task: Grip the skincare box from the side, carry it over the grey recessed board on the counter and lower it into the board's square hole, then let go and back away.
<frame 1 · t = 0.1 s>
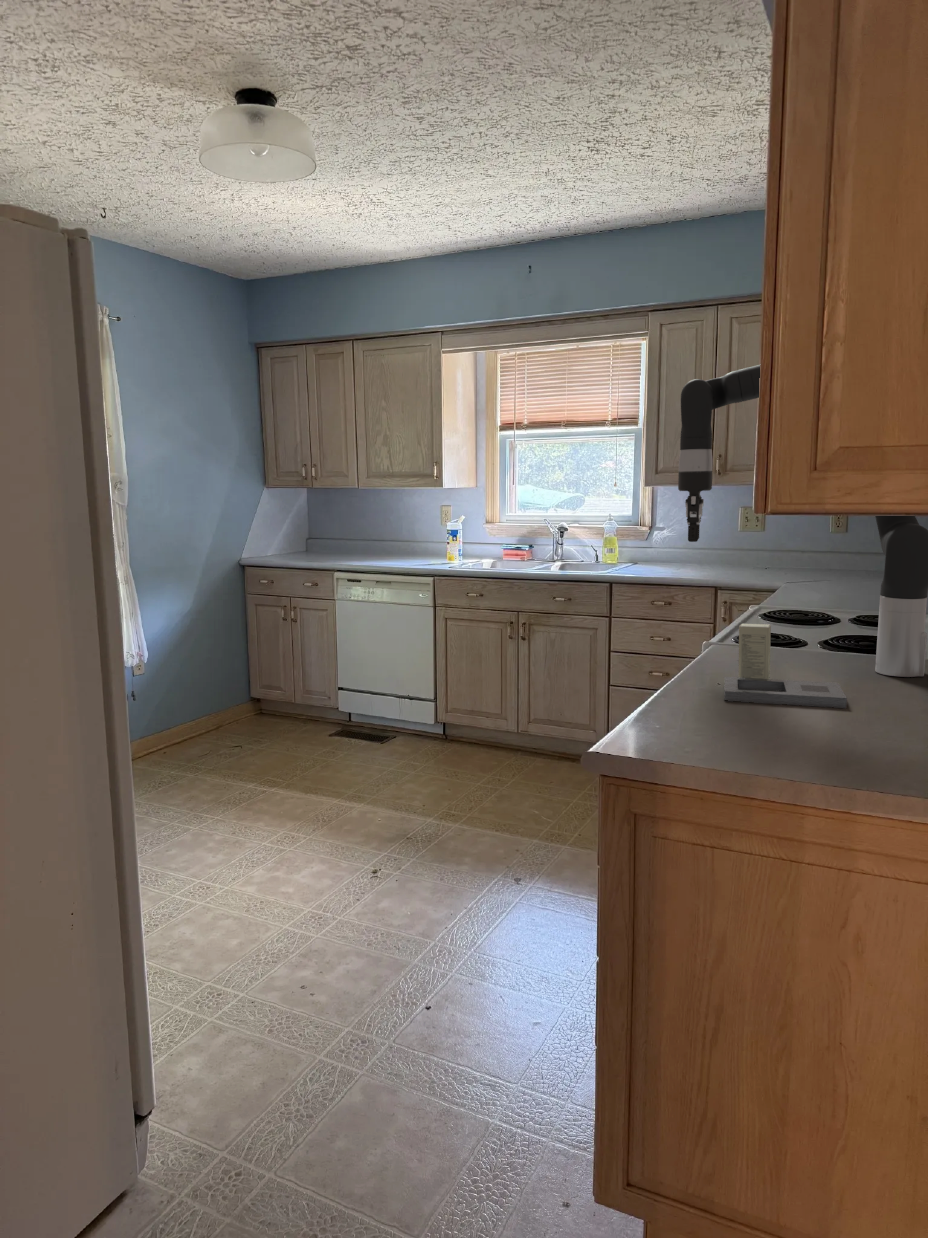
hand: (693, 540, 196), 29 cm above the worktop, tool pointing down, fingers open, 8 cm apart
skincare box: (753, 681, 182), on the worktop
grey recessed board: (781, 696, 168), on the worktop
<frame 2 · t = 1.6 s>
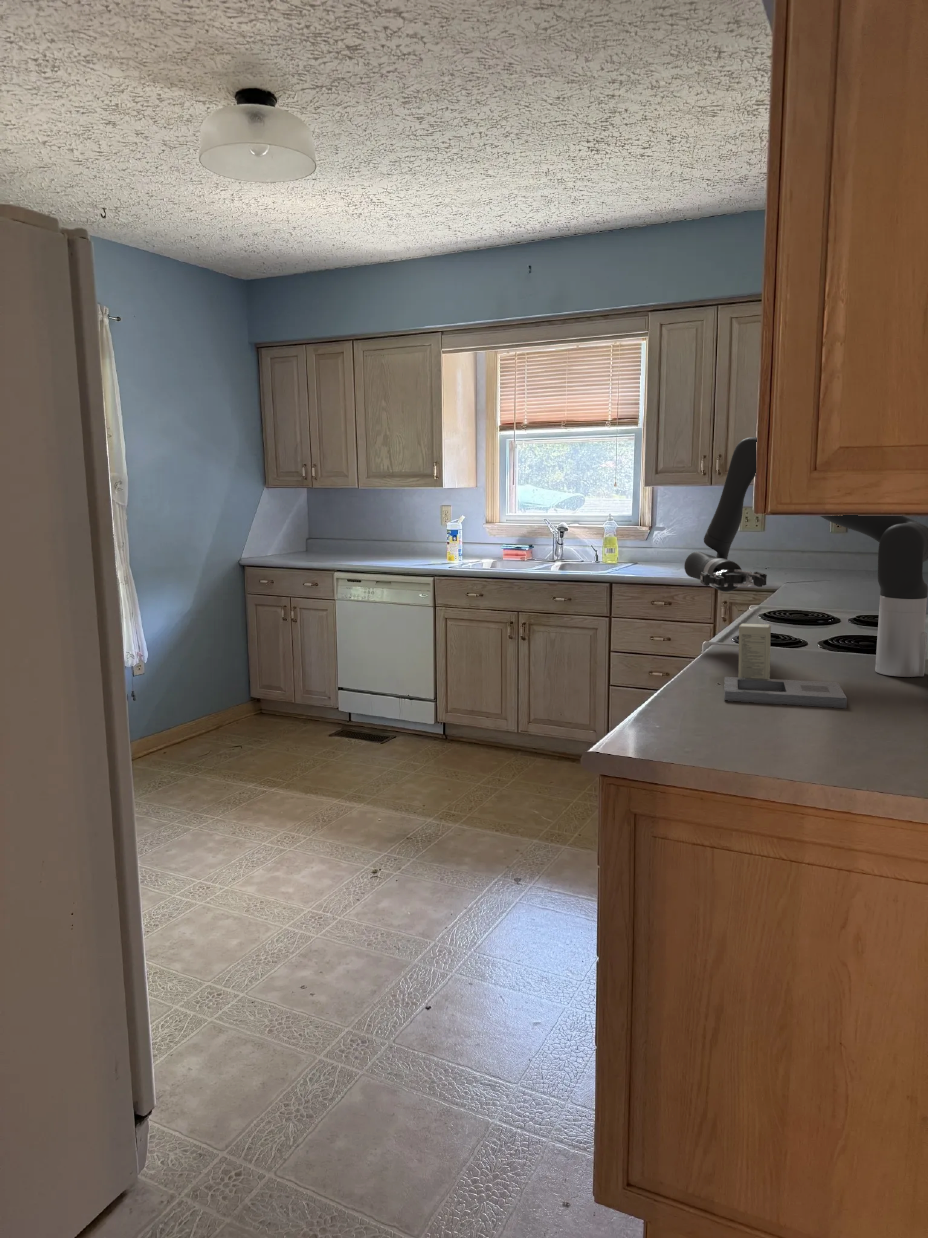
hand: (741, 582, 190), 20 cm above the worktop, tool horizontal, fingers open, 8 cm apart
nothing on the worktop moved.
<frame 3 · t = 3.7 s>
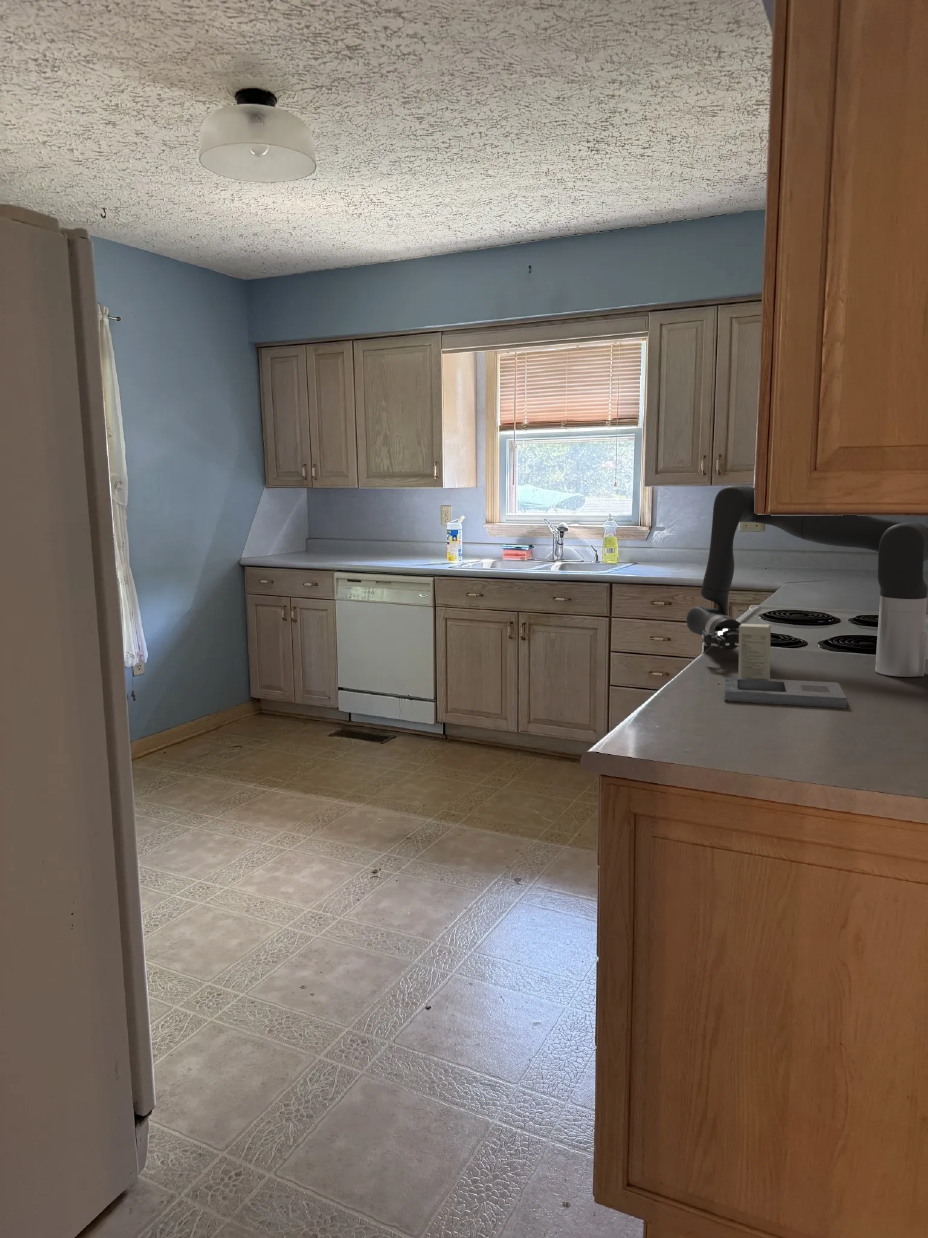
hand: (743, 643, 189), 6 cm above the worktop, tool horizontal, fingers open, 8 cm apart
nothing on the worktop moved.
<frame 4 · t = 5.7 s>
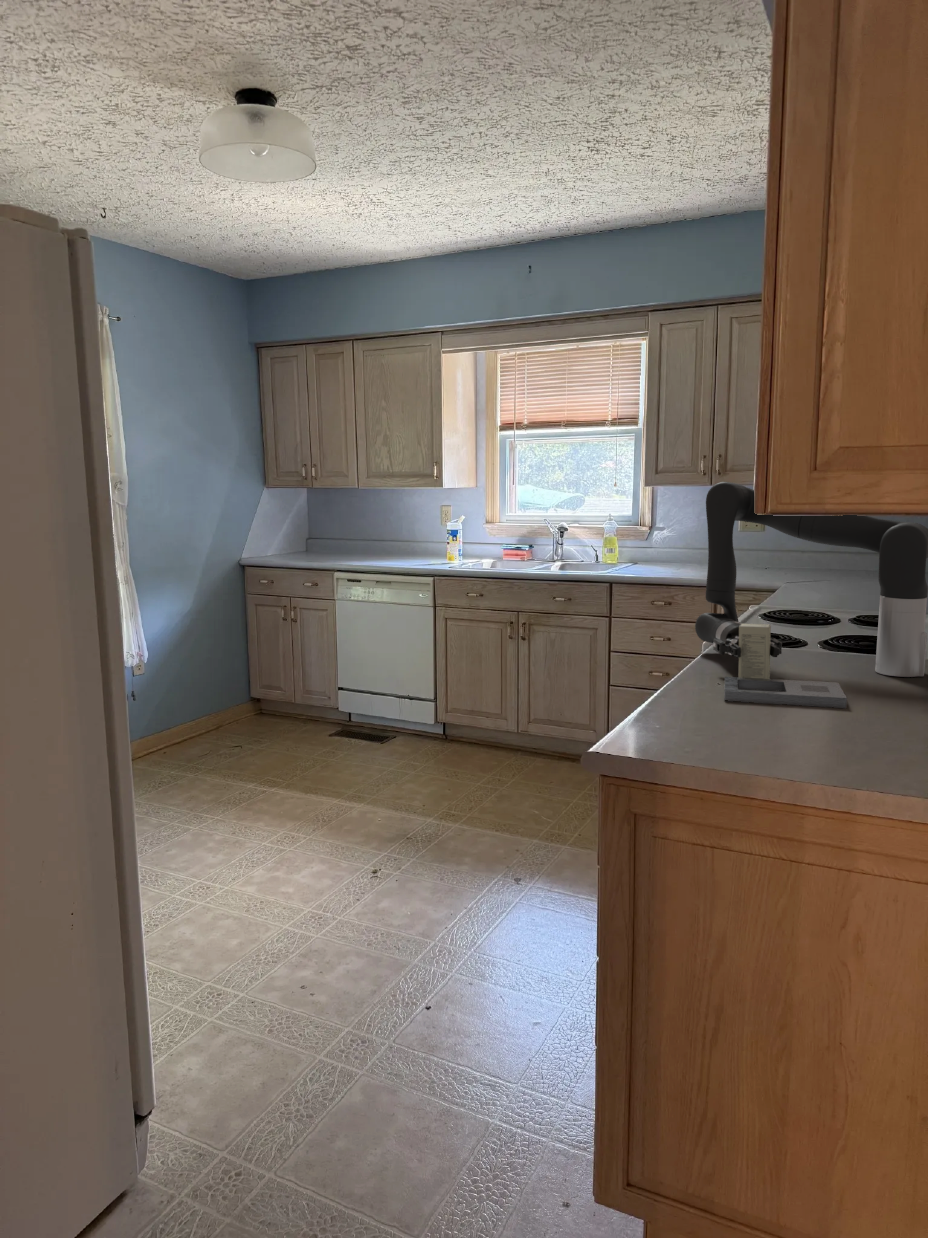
hand: (757, 652, 179), 7 cm above the worktop, tool horizontal, fingers closed on skincare box, 7 cm apart
skincare box: (753, 681, 182), on the worktop, touching gripper
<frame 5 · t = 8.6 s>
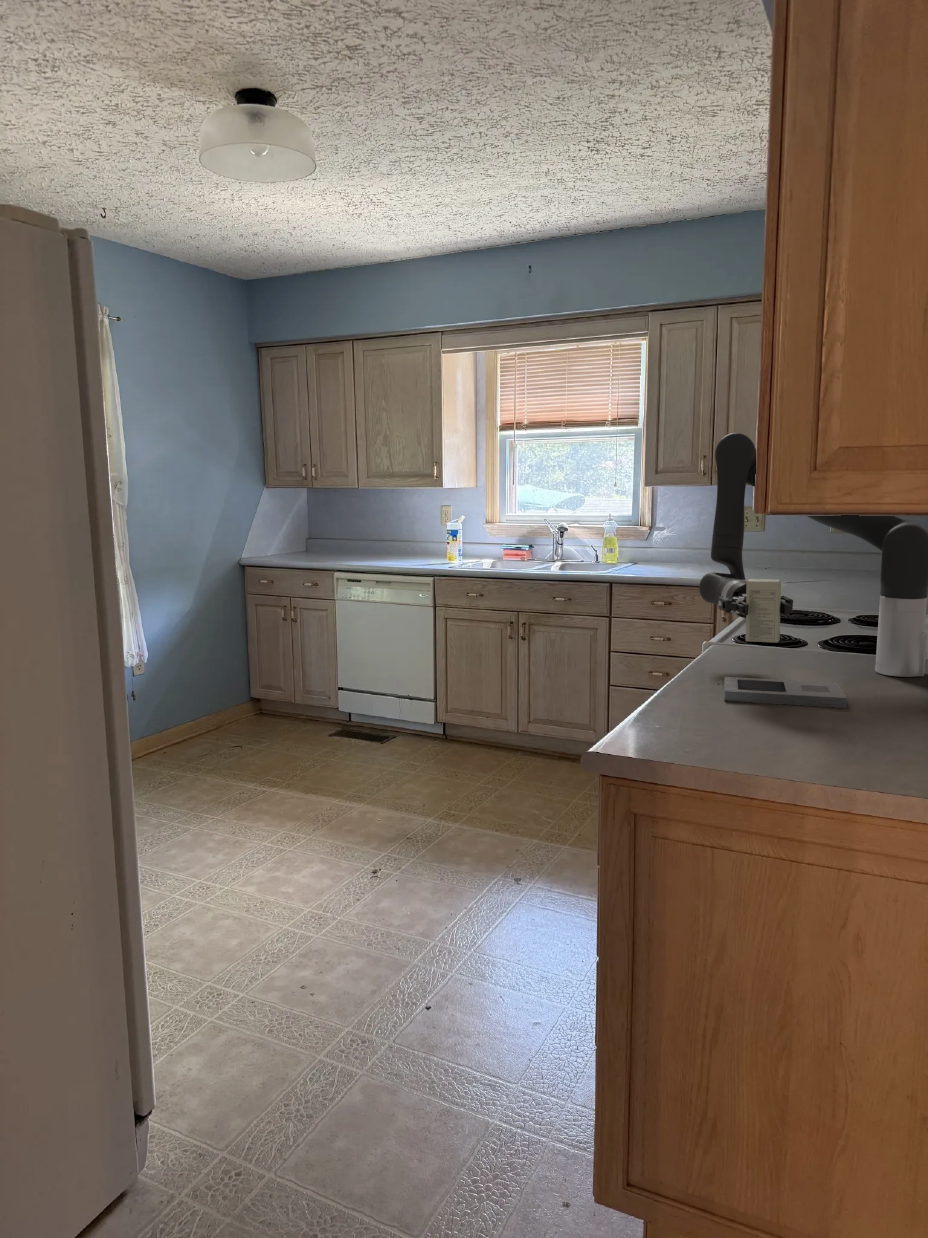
hand: (766, 609, 165), 18 cm above the worktop, tool horizontal, fingers closed on skincare box, 7 cm apart
skincare box: (761, 641, 168), point 11 cm above the worktop, touching gripper
when the fingers open (8 cm above the worktop, at t = 11.1 s): skincare box drops 1 cm, resting in grey recessed board.
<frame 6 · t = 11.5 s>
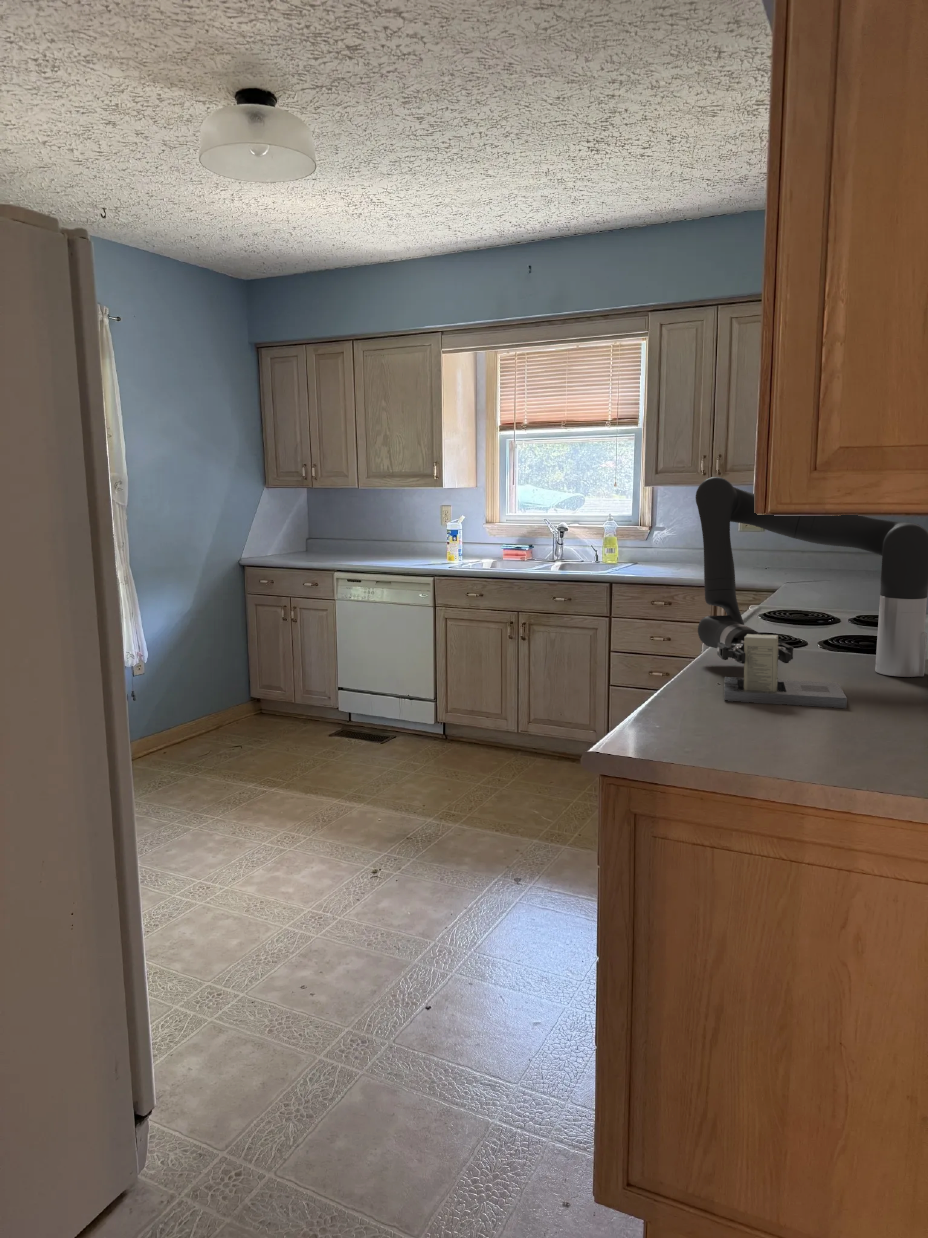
hand: (765, 658, 166), 8 cm above the worktop, tool horizontal, fingers open, 8 cm apart
skincare box: (759, 696, 169), resting in grey recessed board
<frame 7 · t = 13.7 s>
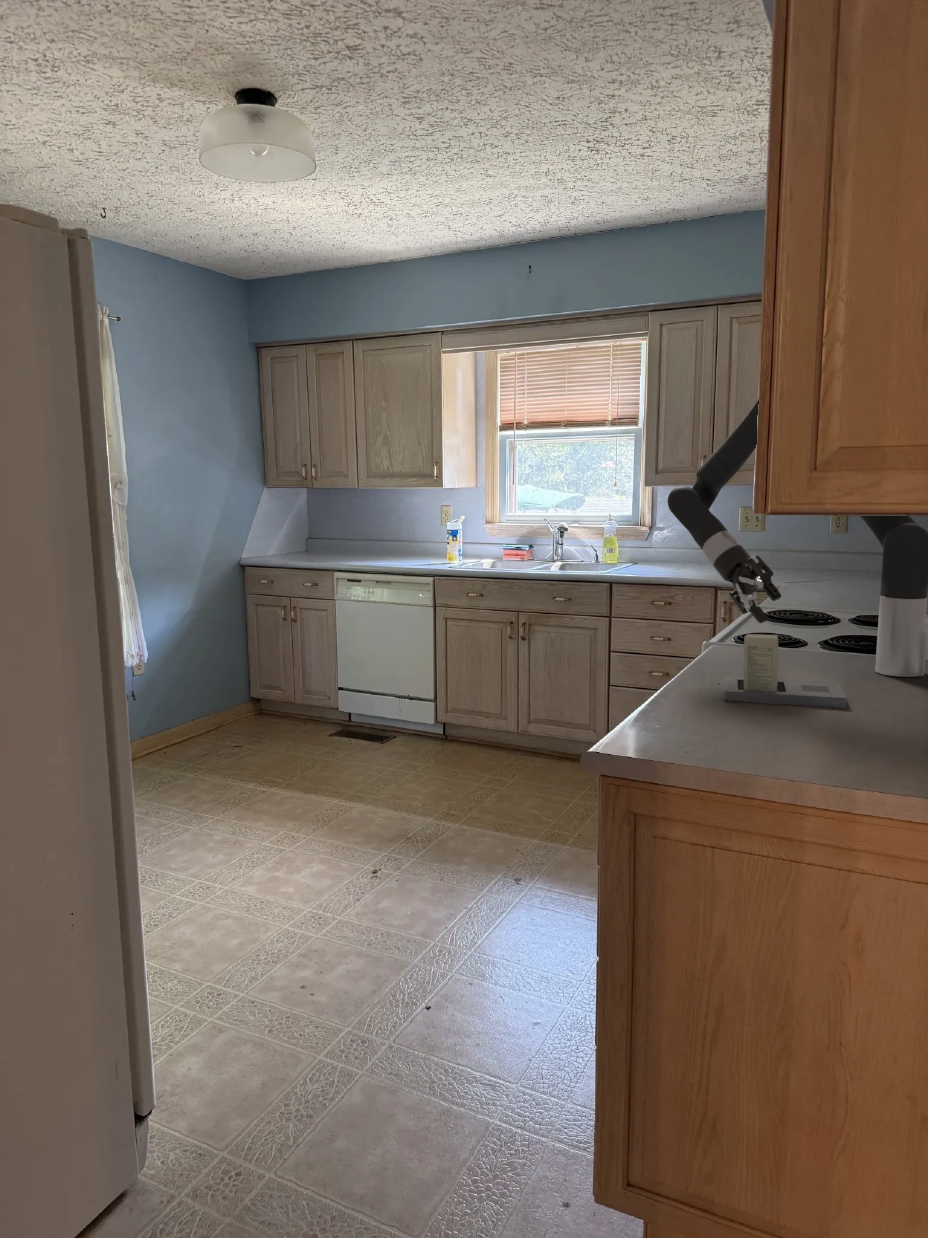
hand: (770, 610, 180), 15 cm above the worktop, tool tilted 45°, fingers open, 8 cm apart
nothing on the worktop moved.
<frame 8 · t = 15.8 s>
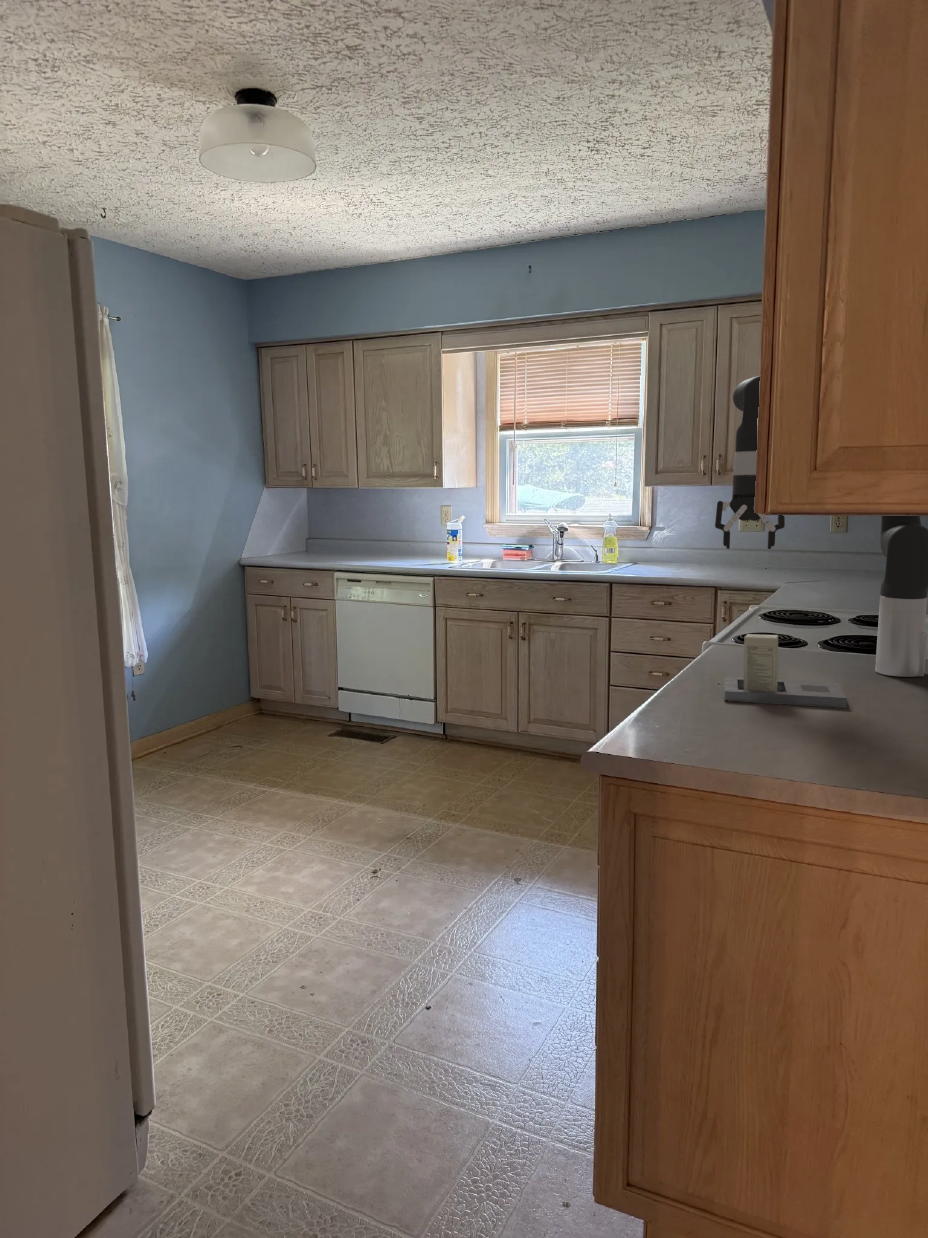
hand: (748, 548, 183), 28 cm above the worktop, tool pointing down, fingers open, 8 cm apart
nothing on the worktop moved.
at the end: skincare box 0.2 cm from the target spot, resting in grey recessed board; skincare box tilted 0°; the gripper is holding nothing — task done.
